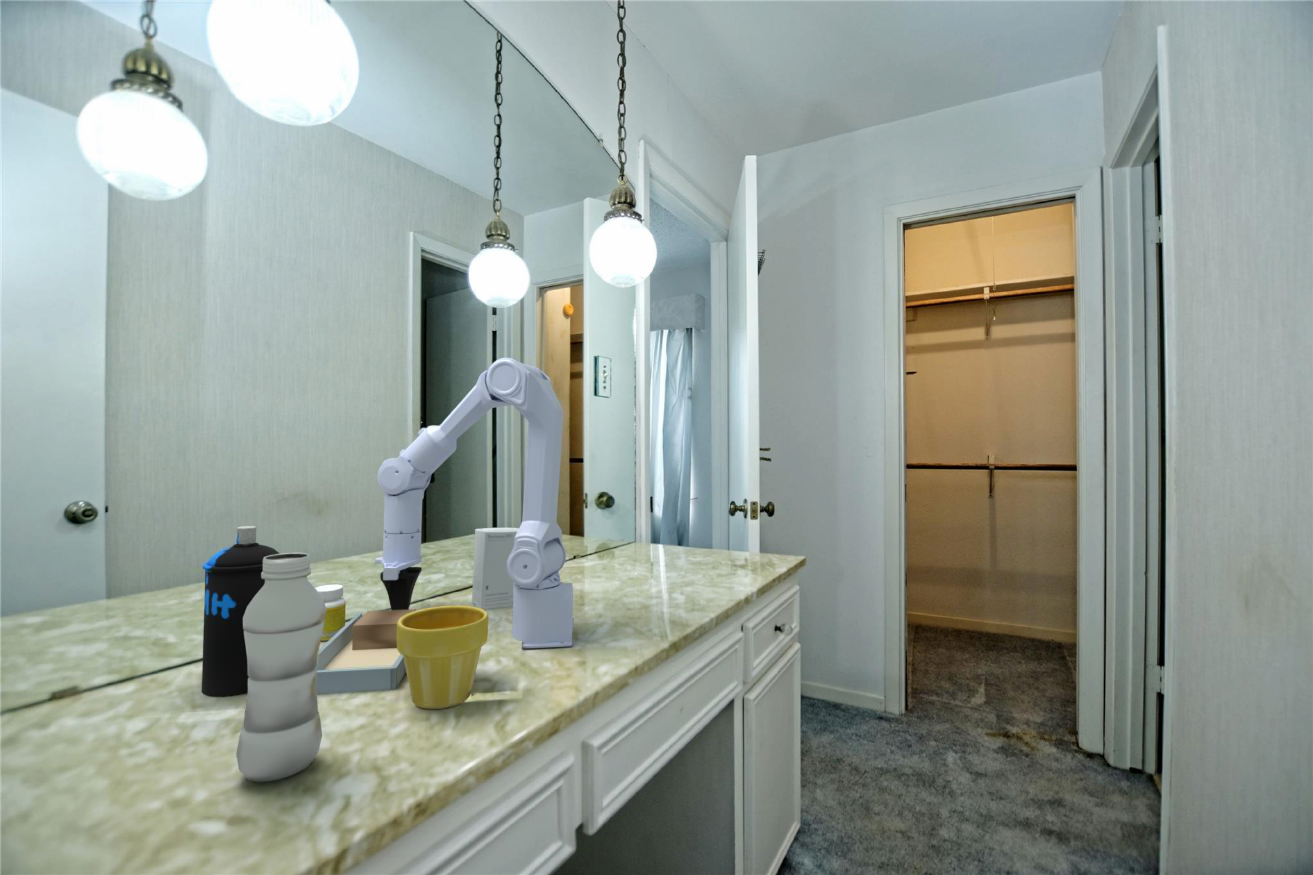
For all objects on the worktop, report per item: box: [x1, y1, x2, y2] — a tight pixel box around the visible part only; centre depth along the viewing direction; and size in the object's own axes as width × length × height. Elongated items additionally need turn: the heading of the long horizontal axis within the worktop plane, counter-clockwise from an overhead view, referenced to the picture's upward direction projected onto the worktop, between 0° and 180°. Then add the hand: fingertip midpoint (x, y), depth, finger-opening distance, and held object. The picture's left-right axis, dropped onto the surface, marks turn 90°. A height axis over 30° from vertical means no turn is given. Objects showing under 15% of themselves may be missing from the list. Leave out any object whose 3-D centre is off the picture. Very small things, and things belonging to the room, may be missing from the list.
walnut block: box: [352, 608, 417, 650], centre depth 84 cm, size 7×7×4 cm
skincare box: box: [471, 527, 520, 611], centre depth 105 cm, size 8×6×15 cm
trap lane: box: [316, 612, 407, 695], centre depth 79 cm, size 16×24×4 cm
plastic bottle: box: [235, 552, 326, 782], centre depth 53 cm, size 6×7×20 cm
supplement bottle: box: [314, 584, 346, 643], centre depth 85 cm, size 5×5×8 cm
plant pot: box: [397, 605, 489, 710], centre depth 68 cm, size 10×10×10 cm
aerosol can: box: [201, 525, 281, 698], centre depth 69 cm, size 8×8×20 cm
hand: (400, 613), depth 93 cm, fingers closed
